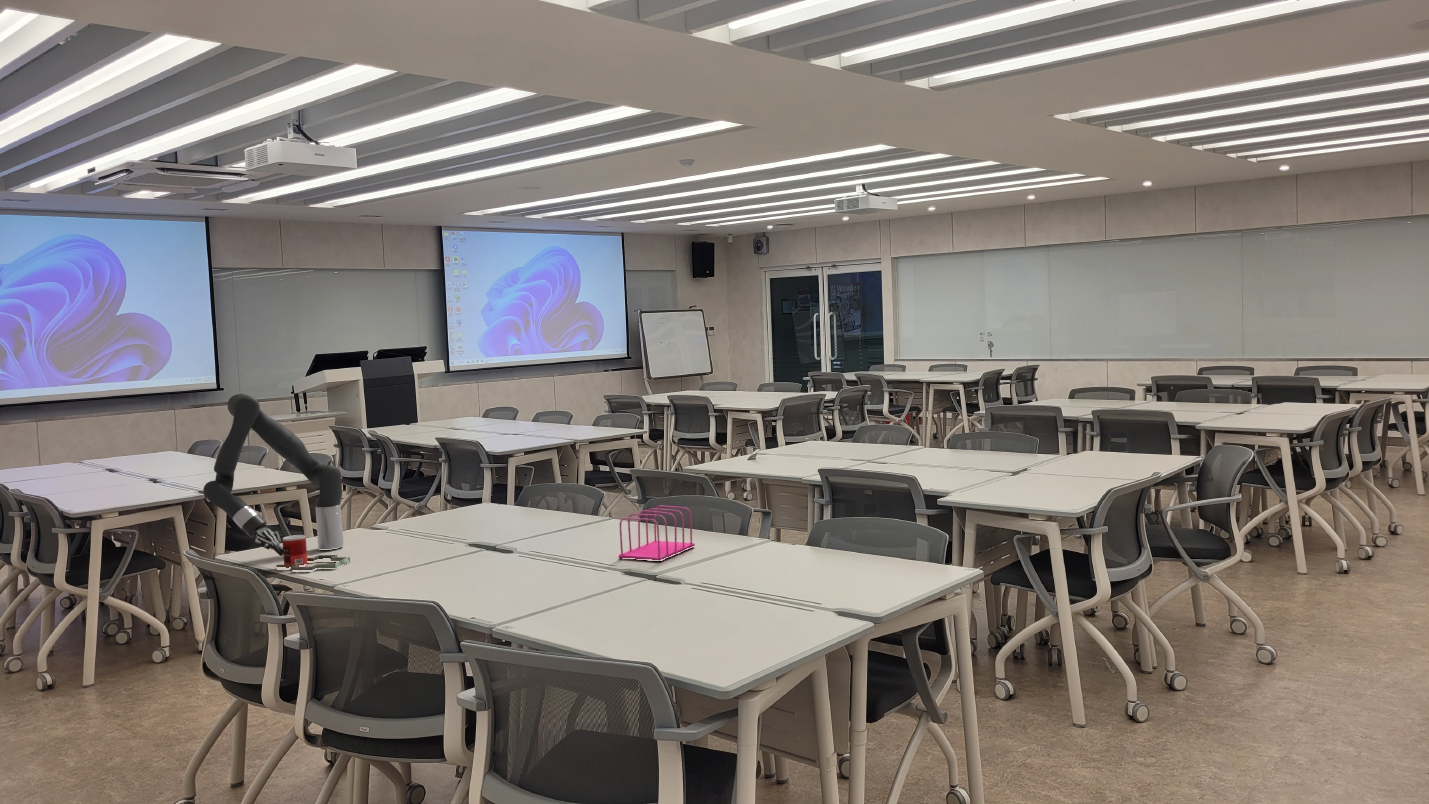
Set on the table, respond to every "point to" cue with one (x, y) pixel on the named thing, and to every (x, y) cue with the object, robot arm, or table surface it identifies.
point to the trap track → (333, 558)
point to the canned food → (294, 550)
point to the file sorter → (655, 548)
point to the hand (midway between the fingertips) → (283, 553)
